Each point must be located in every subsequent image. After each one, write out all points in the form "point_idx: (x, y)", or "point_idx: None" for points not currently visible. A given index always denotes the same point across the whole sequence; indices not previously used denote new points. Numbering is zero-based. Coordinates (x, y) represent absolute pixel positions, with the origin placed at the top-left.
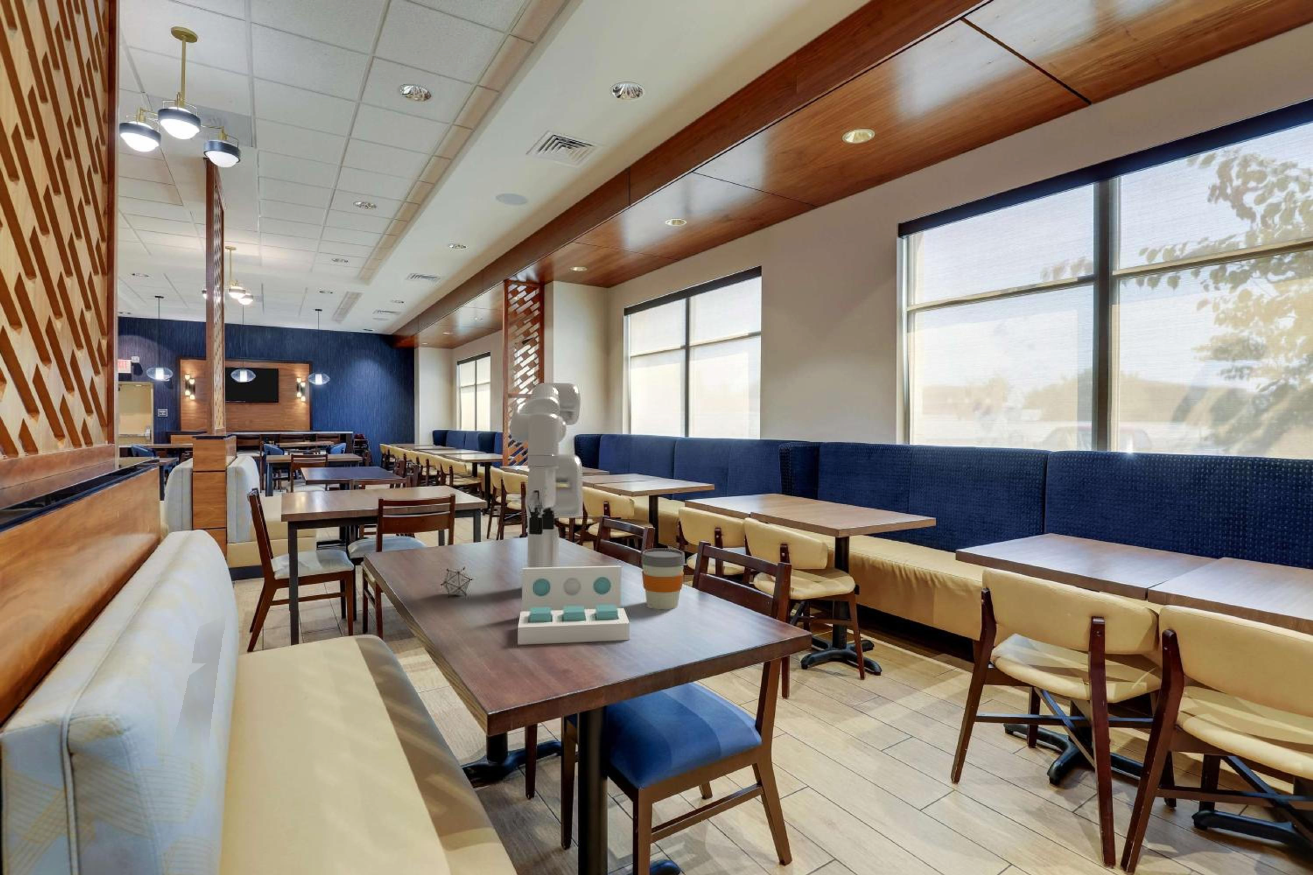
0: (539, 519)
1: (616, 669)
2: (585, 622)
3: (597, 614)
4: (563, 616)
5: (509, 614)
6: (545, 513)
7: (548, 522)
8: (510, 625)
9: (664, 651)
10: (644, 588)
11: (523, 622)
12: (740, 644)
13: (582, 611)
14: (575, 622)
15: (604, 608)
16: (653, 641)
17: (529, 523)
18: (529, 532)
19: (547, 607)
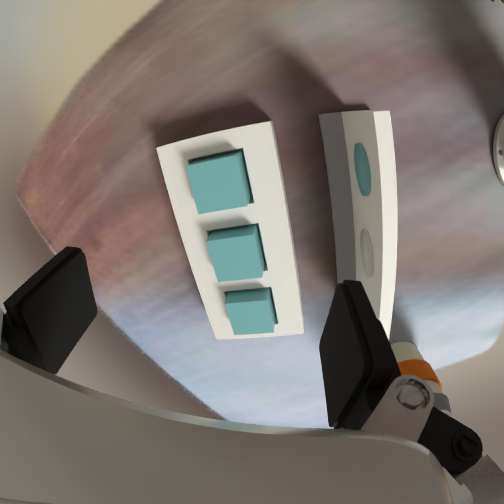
0: (37, 355)
1: (118, 301)
2: (207, 275)
3: (226, 300)
4: (224, 233)
5: (364, 80)
6: (360, 398)
7: (333, 356)
8: (284, 95)
9: (187, 353)
10: (401, 361)
11: (188, 149)
12: (226, 411)
13: (219, 277)
14: (204, 257)
15: (246, 315)
16: (221, 347)
17: (30, 279)
18: (65, 250)
19: (240, 198)
